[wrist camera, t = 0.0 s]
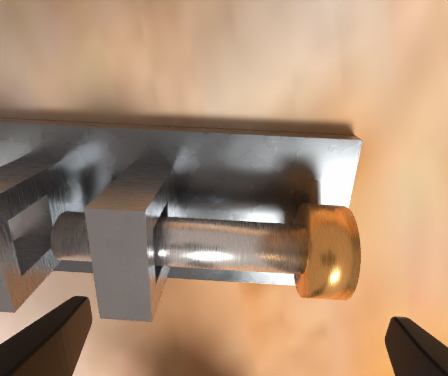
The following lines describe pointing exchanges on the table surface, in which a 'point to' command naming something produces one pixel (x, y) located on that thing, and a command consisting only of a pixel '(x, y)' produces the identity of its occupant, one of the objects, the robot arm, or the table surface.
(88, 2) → the table surface
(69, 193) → the bearing frame
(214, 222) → the shaft
